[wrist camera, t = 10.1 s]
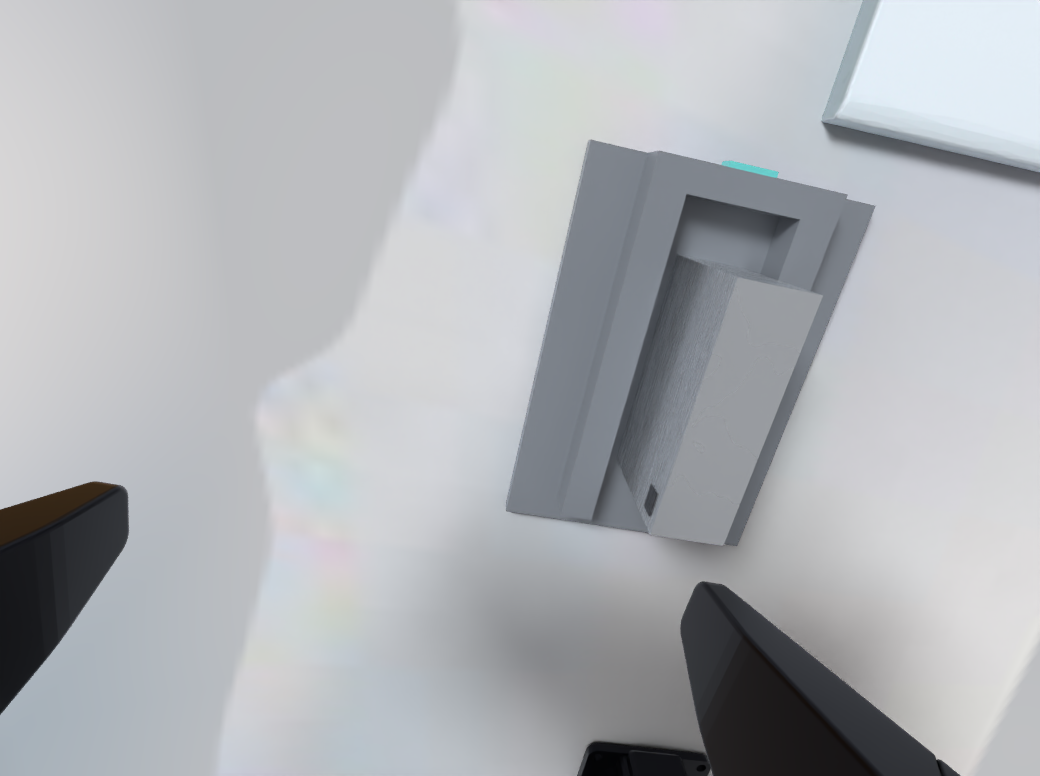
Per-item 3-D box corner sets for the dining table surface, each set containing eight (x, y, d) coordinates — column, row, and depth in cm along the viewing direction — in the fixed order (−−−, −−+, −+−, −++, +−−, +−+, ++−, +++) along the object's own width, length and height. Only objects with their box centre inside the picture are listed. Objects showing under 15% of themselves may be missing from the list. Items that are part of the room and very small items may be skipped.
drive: (674, 468, 22) (724, 546, 17) (614, 457, 21) (648, 534, 17) (743, 268, 19) (824, 295, 14) (675, 253, 19) (735, 277, 14)
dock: (732, 538, 24) (750, 566, 22) (505, 504, 22) (506, 530, 21) (868, 199, 19) (905, 201, 17) (589, 134, 18) (599, 129, 16)
